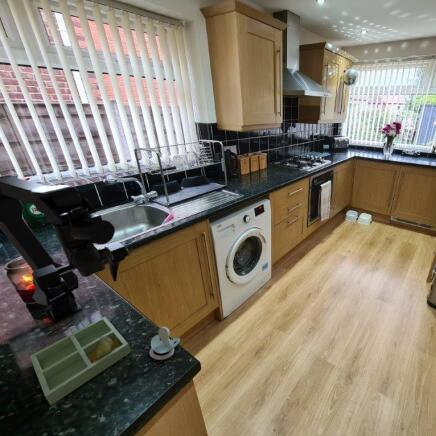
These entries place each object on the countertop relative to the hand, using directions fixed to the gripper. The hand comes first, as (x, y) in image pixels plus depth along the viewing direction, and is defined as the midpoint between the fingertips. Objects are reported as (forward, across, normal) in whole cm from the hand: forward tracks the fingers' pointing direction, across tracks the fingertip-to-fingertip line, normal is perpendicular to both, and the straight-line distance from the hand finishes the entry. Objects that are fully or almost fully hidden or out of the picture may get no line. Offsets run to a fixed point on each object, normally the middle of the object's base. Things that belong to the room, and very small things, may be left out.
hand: (95, 289), depth 66 cm
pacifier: (+12, +5, -22) cm, 26 cm away
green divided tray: (+12, -8, -8) cm, 16 cm away
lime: (+12, -5, -12) cm, 17 cm away
